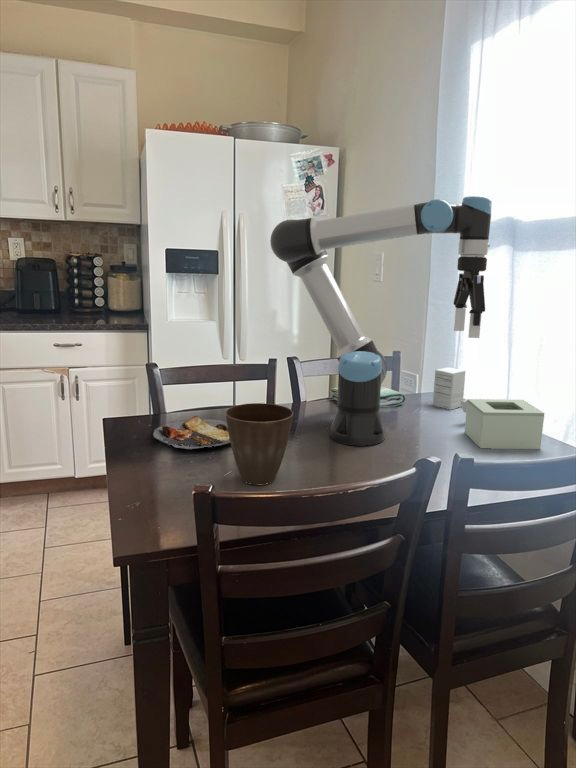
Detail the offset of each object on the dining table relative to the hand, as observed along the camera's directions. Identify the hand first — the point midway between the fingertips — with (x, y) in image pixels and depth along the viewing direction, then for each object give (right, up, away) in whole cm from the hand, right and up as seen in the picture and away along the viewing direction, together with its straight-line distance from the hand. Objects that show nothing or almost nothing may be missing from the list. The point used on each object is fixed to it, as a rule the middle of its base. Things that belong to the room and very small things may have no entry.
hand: (466, 334), depth 160 cm
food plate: (-74, -29, -2) cm, 80 cm away
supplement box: (+5, -22, +35) cm, 41 cm away
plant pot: (-56, -36, -30) cm, 73 cm away
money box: (+10, -30, 0) cm, 31 cm away
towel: (-22, -21, +39) cm, 50 cm away
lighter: (+6, -26, +15) cm, 31 cm away
